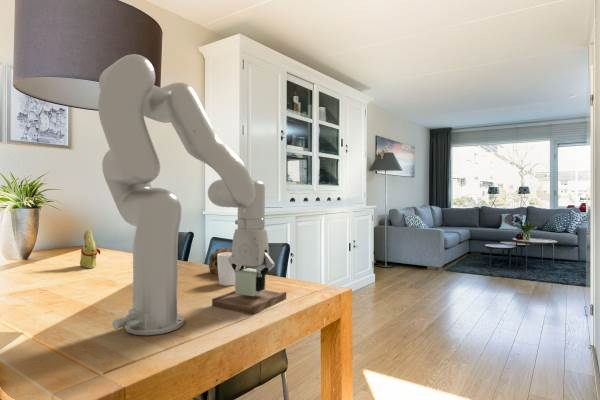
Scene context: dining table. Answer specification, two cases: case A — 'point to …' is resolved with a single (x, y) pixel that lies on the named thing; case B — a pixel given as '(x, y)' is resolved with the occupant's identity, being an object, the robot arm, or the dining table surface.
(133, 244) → the robot arm
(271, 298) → the board
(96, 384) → the dining table surface
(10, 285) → the dining table surface
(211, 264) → the bread
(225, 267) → the white cup
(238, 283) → the sage block
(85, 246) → the asparagus bundle
